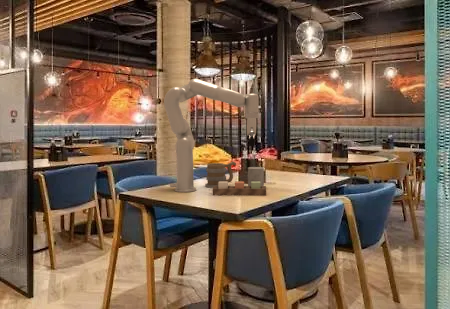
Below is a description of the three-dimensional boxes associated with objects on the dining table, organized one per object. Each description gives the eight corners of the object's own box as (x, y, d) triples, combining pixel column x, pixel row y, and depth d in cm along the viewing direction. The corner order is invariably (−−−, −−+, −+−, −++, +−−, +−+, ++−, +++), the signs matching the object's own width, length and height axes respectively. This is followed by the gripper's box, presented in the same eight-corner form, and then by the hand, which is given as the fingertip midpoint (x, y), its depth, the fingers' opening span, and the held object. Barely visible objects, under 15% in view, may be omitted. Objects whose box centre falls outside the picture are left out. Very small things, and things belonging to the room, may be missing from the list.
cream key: (218, 190, 225) (218, 182, 225) (219, 189, 230) (219, 181, 230) (227, 190, 225) (227, 182, 224) (228, 189, 230) (228, 181, 229)
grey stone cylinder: (266, 187, 246) (266, 167, 245) (259, 190, 238) (259, 169, 237) (252, 186, 251) (252, 166, 250) (245, 189, 242) (244, 168, 241)
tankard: (210, 188, 244) (209, 163, 243) (203, 185, 256) (202, 161, 254) (240, 186, 252) (240, 162, 250) (232, 183, 263) (232, 160, 262)
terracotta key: (234, 190, 224) (234, 182, 224) (235, 189, 229) (235, 181, 229) (243, 190, 224) (243, 182, 224) (244, 189, 229) (244, 181, 229)
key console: (212, 195, 223) (212, 188, 223) (214, 192, 233) (214, 185, 233) (266, 195, 221) (266, 189, 220) (265, 192, 231) (265, 186, 230)
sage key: (251, 190, 224) (251, 182, 223) (251, 189, 229) (251, 181, 228) (260, 191, 223) (260, 182, 223) (260, 189, 228) (260, 181, 228)
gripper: (245, 115, 242) (245, 144, 244) (244, 115, 225) (244, 146, 227) (258, 115, 242) (258, 144, 243) (258, 115, 225) (258, 146, 226)
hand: (252, 145), depth 235 cm, fingers open, 9 cm apart
